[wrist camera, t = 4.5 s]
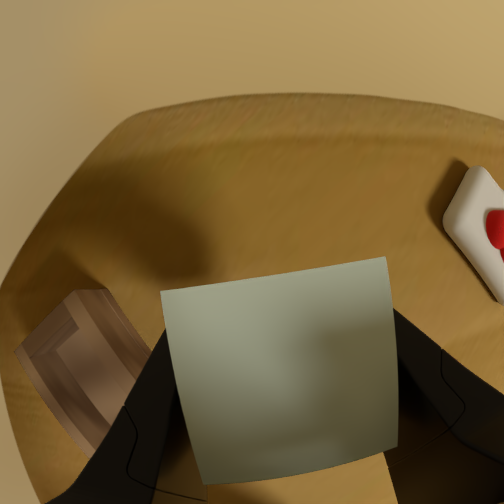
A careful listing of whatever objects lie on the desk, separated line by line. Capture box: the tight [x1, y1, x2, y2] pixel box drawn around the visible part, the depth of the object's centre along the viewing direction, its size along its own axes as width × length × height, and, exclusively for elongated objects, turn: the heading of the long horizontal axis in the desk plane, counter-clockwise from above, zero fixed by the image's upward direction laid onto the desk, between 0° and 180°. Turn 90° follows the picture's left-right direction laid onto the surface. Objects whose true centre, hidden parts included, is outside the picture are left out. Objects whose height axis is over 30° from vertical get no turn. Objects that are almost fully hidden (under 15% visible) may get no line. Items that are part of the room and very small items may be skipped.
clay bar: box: [160, 257, 398, 485], centre depth 10 cm, size 4×4×10 cm
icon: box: [443, 166, 504, 306], centre depth 20 cm, size 12×4×10 cm
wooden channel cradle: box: [14, 289, 152, 459], centre depth 17 cm, size 10×8×5 cm
